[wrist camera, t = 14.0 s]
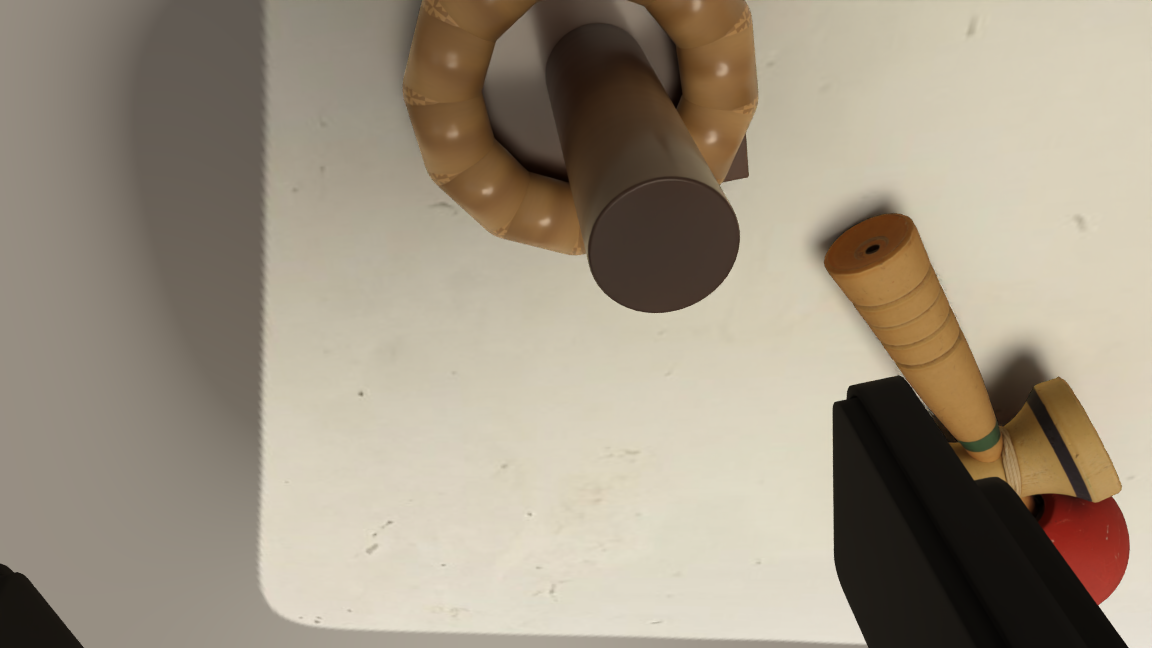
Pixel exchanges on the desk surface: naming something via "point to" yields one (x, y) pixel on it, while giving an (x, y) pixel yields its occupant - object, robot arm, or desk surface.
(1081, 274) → the desk surface
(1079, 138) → the desk surface
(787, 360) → the desk surface
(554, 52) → the brown peg stand
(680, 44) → the ring
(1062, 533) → the kendama
